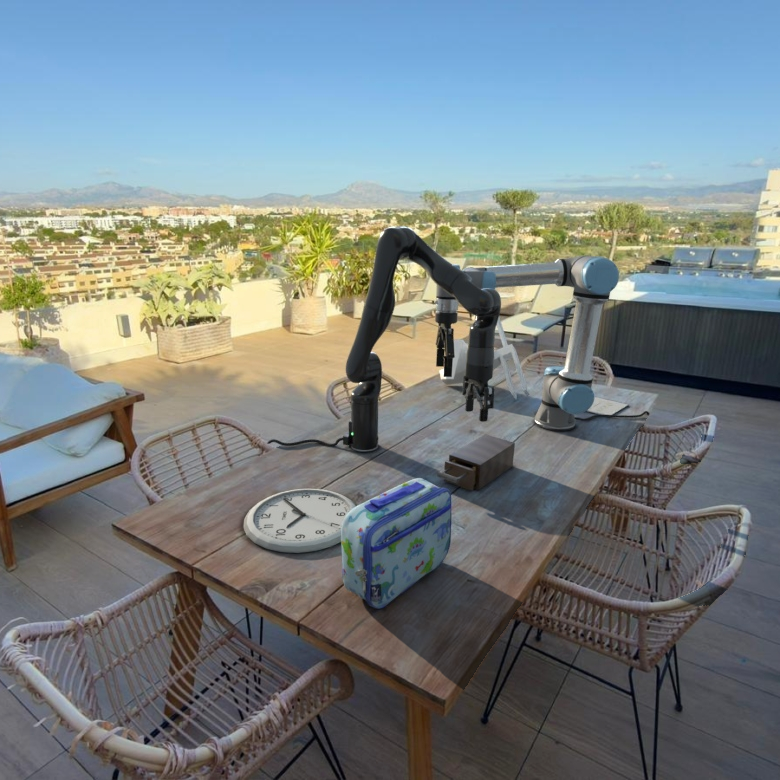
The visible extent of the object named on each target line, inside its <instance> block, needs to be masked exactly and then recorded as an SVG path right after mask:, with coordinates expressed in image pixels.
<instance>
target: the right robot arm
mask: <svg viewBox="0 0 780 780" xmlns="http://www.w3.org/2000/svg"><path fill="white" fill-rule="evenodd" d="M452 264H453V263H452ZM453 265H454V266H456V267H457V268H459V269H460V270H461V271H463V272H464V273H466V274H467V275H468V276H470V277H471V279H472V282H473V284H474V285H475V286H477V287H478V288H480V289H485V288H493V289H495V290H496V288H511V287H512V288H513V287H527V286H530V287H531V286H543V285H544V286H545V285H555V286H556V287H571V288H573V292H572V297H573V298H574V300H575V307H574V313H573V319H572V322H571V328H570V335H569V341H568V346H567V350H566V357H565V361H564V366H548V367H546V368H545V370H544V374H543V381H542V382H543V384H542V394H541V402H540V405H539V407H538V410H537V411H534V412H533V416H534V424H535V425H536V426H537V427H539V428H542V429H544V430H549V431H556V432H567V431H572V430H574V429H575V428H576V420H577V421H584V422H585V421H590V420H592V419H595V418H599V417H600V418H602V417H604V418H621V419H623V418H624V419H625V418H626V419H627V418H628V419H629V418H630V419H631V418H640V417H643V416H644V415H650V412H649V411H648V410H645V411H643V412H641V413H640V414H635V415H634V414H633V415H628V414H627V415H625V414H624V415H622V414H621V415H619V414H616V415H615V414H613V415H600V414H594V415H591V416H589V417H586V418H584V417H577V416H575V415H581V414H583V413H585V412H588V411H587V410H588V409H589V408H590V407H591V406H592V404H593V402H594V397H595V393H594V390H593V389H592V386H593V381H594V376H593V374H592V373H591V366H592V361H593V356H594V353H595V352H594V351H595V346H596V340H597V336H598V332H599V326H600V322H601V321H600V320H601V316H602V311H603V305H604V304H605V303H607V302H608V301H609V299H610V296H611V292H612V291H613V290H615V289H616V287H617V286H618V283H619V280H620V271H619V269H618V266H617V265H616V263H615V262H614V261H612V260H610V259H609V258H606V257H604V256H594V255H587V254H586V255H578V256H573V257H567V258H557V259H556V260H555V261H554V262H553V261H552V262H540V263H539V262H538V263H525V264H523V263H522V264H510V265H495V266H494V265H493V266H484V267H482V266H481V267H474V266H469V267H466V268H465V267H464V269H461V265H460V264H456V263H455V264H453ZM435 291H436V293H435V297H436V298H435V300H434V304H435V310H436V311H435V314H434V322H435V323H437V324H438V325H437V327H438V328H437V334H436V339H435V346H436V357H435V358H436V359H435V360H436V361H435V367H438V368H440V367H441V368H442V367H443V369H444V377H452V363H453V358H454V357H455V355H454V339H455V338H454V337H455V336H454V332H455V329H454V328H452V324H453V325H455V324H456V323H457V322H458V314H459V313H458V310H459V302H458V301H457V300H456V298H455V297H453V296H452V295H450V294H449V293H447V292H446V291H445V290H443V289H442V288H440V287H439V286H438V285H437V284H436V290H435Z"/></svg>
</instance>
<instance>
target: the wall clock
mask: <svg viewBox="0 0 780 780" xmlns="http://www.w3.org/2000/svg"><path fill="white" fill-rule="evenodd" d="M356 506H357V504H356V503H355V502H354V501H353V500H351V499H350V498H348V497H347V496H345V495H344V494H341V493H338V492H335V491H332V490H327V489H322V488H299V489H298V488H297V489H291V490H286V491H281V492H278V493H275V494H273V495H269V496H268V497H266V498H264V499H262V500H260V501H259V502H257V503H256V504H255V505H253V506H252V508H250V509H249V510H248V511H247V513H246V515H245V517H244V519H243V530H244V532H245V535H246V537H247V538H248V539H249V540H251V542H252V543H254V545H255V544H256V545H257V546H260V547H262V548H264V549H266V550H270V551H274V552H280V553H294V554H295V553H296V554H300V553H310V552H317V551H320V550H324V549H328V548H331V547H333V546H335V545H337V544H339V543H340V544H341V528H342V523H343V520H344V518H345V517H346V515H347V514H348V512H349V511H350V510H351V509H353V508H354V507H356Z"/></svg>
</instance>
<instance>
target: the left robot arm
mask: <svg viewBox="0 0 780 780" xmlns="http://www.w3.org/2000/svg"><path fill="white" fill-rule="evenodd" d="M374 255H375V256H374V263H373V269H372V274H371V277H370V282H369V286H368V291H367V293H366V297H365V300H364V304H363V308H362V310H361V311H362V312H361V316H360V321H359V324H358V327H357V331H356V334H355V338H354V340H353V344H352V346H351V348H350V351H349V354H348V356H347V359H346V362H345V375H346V377H347V379H348V380H349V382H351V383H352V384H357V386H356V387H355V388H354V389H353V390H352V391H351V392H350V420H349V421H348V432H347V433H345V434H344V435H343V436H342V437H338V438H337V439H336V440H335V441H334V442H333V443H328V442H325V441H323V440H320V439H313V438H312V439H304V440H298V441H294V442H282V441H280V440H278V439H275V438H273V439H269V440H268V441H267V442H266V444H268V445H269V444H272V443H275V444H278V445H280V446H283V447H284V446H285V447H292V446H298V445H302V444H306V443H317V444H319V445H320V444H321V445H323V446H326V447H336V446H338V444H339V442H342V445H344V446H348V449H351V450H352V451H353V452H354V451H355V452H358V453H373V452H374V451H376V450H378V449H379V396H380V394H381V392H382V391H381V390H382V377H383V365H382V360H381V358H380V356H378V354H377V353H376V352H373V349H374V346H375V345H376V344H377V342H378V341H379V340H380V338H381V337H382V336H383V334H384V333H385V332H386V330H387V329H388V327H389V326H390V323H391V321H392V318H393V315H394V311H395V307H396V293H395V286H394V278H395V273H396V270H397V267H398V264H399V262H400V261H401V260H408V261H411V262H413V263H415V264H417V265H418V266H420V267H421V268H422V269H423V270H424V271H425V272H426V273H427V275H428V276H429V277H430V279H431V280H432V281H433V283H434V284H436V286H437V285H438V286H439V287H440V288H442V289H443V290H445V291H446V292H447V293H449V294H450V295H452V296H453V297H455V298H456V300H457V301H458V304H460V306H462V307H463V309H464V310H465V311H467V313H470V314H471V315H473V316H475V320H474V322H473V323H472V324H471V325H470V326H469V331H468V342H467V345H468V349H467V358H466V374H465V375H466V376H464V378H463V383H462V390H461V395H463V396H464V399H465V409H464V410H465V412H466V413H467V412H468V413H470V412H473V411H474V404H475V400H474V398H476V401H477V402H478V404H479V417H478V419H479V422H481V423H483V422H487V421H488V419H489V418H488V417H489V410H492V409H494V407H495V388H494V386H493V387H491V386H489V381H490V380H492V379H493V375H494V370H493V364H494V350H495V337H496V336H495V335H496V328H497V322H498V318H500V314H501V308H502V298H501V295H500V293H499V291H497V290H496V288H495V289H493V288H485V289H480V288H478V287H477V286H475V285H474V284H473V282H472V279H471V277H470V276H468V275H467V274H466V273H464V272H463V270H462V269H461V268H460V269H461V270H460V269H459V268H457V267H456V266H454V265H453V263H451V262H450V261H448V260H447V259H445V258H444V257H443V256H442V255H441V254H440V253H438V252H436V251H435V250H434V249H433V248H432V246H430V245H429V244H428V243H427V242H426V241H425V240H423V238H422V237H420V236H419V234H417V232H415V231H414V230H413V229H412V228H410V227H407V226H390V227H386V228H384V230H382V231H381V232H380V235H379V237H378V239H377V244H376V249H375V254H374Z"/></svg>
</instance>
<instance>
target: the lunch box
mask: <svg viewBox="0 0 780 780" xmlns="http://www.w3.org/2000/svg"><path fill="white" fill-rule="evenodd" d="M451 539H452V494H451V491H450V490H449V488H446V487H439V486H437V485H435V484H434V483H432V482H430V481H428V480H426V479H424V478H421V477H416V478H413V479H410V480H408V481H405V482H403V483H402V484H398V485H397V486H395V487H392V488H390V489H389V490H386V491H384V492H382V493H380V494H378V495H375V496H374V497H372V498H370V499H369V500H366V501H364V502H363V503H360V504H358V505H356V507H354V508H353V509H351V510H350V511H349V512H348V514H347V515H346V517H345V518H344V520H343V523H342V528H341V542H340V546H341V569H342V570H341V571H342V582H343V585H344V588H345V589H346V590H347V591H349V592H351V593H353V594H355V595H356V596H358V597H359V598H361V599H362V600H364V601H365V602H366V603H367V605H368V606H370V607H372V608H374V609H378V610H379V609H380V610H381V609H383V608H384V607H387V605H389V604H390V603H391V602H392V601H393V600H395V599H396V598H397V597H399V596H400V595H402V594H403V593H404V592H405V591H407V590H408V589H409V588H411V587H412V586H413V585H415V584H416V583H418V581H419V580H420V579H421V578H423V577H425V576H427V575H428V574H429V573H431V572H432V571H434V570H435V569H437V568H438V567H439V566H441V564H442V563H443V562H444V561H445V559H446V557H447V556H448V554H449V550H450V547H451V541H452V540H451Z"/></svg>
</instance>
